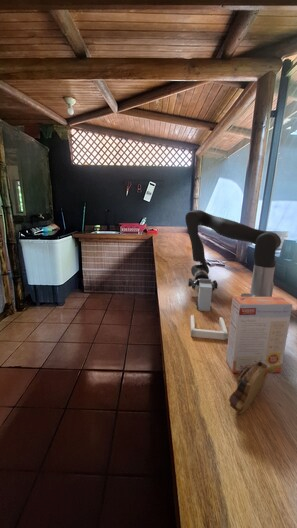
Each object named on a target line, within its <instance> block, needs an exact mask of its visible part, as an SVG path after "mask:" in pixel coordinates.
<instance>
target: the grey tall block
mask: <svg viewBox="0 0 297 528" xmlns="http://www.w3.org/2000/svg"><path fill="white" fill-rule="evenodd" d="M211 282H212V279H210V278H209V279H200V281H199V287H198V296H197V300H196V310H198V311H204V312H210V311H211V312H212V305H211V303H212V293H213V291H212V285H211Z"/></svg>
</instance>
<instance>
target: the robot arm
mask: <svg viewBox="0 0 297 528" xmlns="http://www.w3.org/2000/svg"><path fill="white" fill-rule="evenodd" d="M185 225H186V227H187V232H188V236H189V240H190V243H191V252H192V260H193V261H194V262H197V263H201V264H194V265H192V266H191V269H190V271H191V275H192V276H193V279H192V278H188V284H187V286H188V287H191V289H193V290H196V288H199V281H200V279H210V278H209V273H210V268H209V266H208V263H207V261H206V256H205V246H204V243H203V241H202V239H201V238H200V234H199V226H200V227H201V226H202V227H206V228H209V229H211V230H213V231H214V232H215V233H216V234H218V235H219V236H221V237H225V238H227V239H230V240H235V241H239V242H240V241H241V242H248V243H250V244H253V245H254V253H253V260H254V263H253V271H252V279H251V284H250V292H249V294H253V295H255V296H256V297H273V291H274V285H275V282H274V275H275V269H276V257H275V256H276V252H277V251H276V250H277V249H279V247H280V246H281V244H282V239H281V237H280V236H279V235H278V234H277V233H275V232H272V231H267V230H266V231H265V230H261V229H259V228H258V229H257V228H254V227H251V226H248V225H246V224H243V223H240V222H237V221H235V220H232V219H228V218H224V217H220V216H216V215H212V214H210V213H208V212H205V211H204V210H199V209H196V210H195V209H194V210H190V211H188V212H187V213H186V215H185ZM211 285H212V292H214V291H215V290H217V289H218V282H217V280H215V279H214V280H212V281H211Z"/></svg>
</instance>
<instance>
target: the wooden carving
mask: <svg viewBox="0 0 297 528" xmlns="http://www.w3.org/2000/svg"><path fill="white" fill-rule="evenodd" d="M268 375H269V373H268V372H267V365H266V364H264V363H262V362H258V364H255V365H254V366H252V365H251V366H250V367H248V368H246V369H242V370H241V371H240V372H239V373H238V377H237V385H236V389H235V390H234V392H233V393H232V394H231V395H230V396H229V398H228V401H229V403H230V404H229V406H230V407H231V409H233V410H234V411H236V412H237V413H238V414H239V415H242V414H243V413H244V412H246V411H247V410H248V409H249V408H250V406H251V405H252V404H253V402H254V401H255V399H256V398H257V396H258V394H259V392H260V391H261V390H262V389H263V387H264V385H265V383H266V380H267V377H268Z"/></svg>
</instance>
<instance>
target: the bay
mask: <svg viewBox="0 0 297 528" xmlns="http://www.w3.org/2000/svg"><path fill="white" fill-rule="evenodd" d="M218 320H219V322H218V324H219V328H220V330H214V329H212V330H211V329H199V328H196V326H195V315H194V314H190V322H189V323H190V324H189V325H190V337H191V338H192V337H193V338H203V339H212V340H223V341H228V336H229V331H228V329H227V326H226V324H225V321H224V320H225V319H224V317H221V316H220V317H219V319H218Z"/></svg>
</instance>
